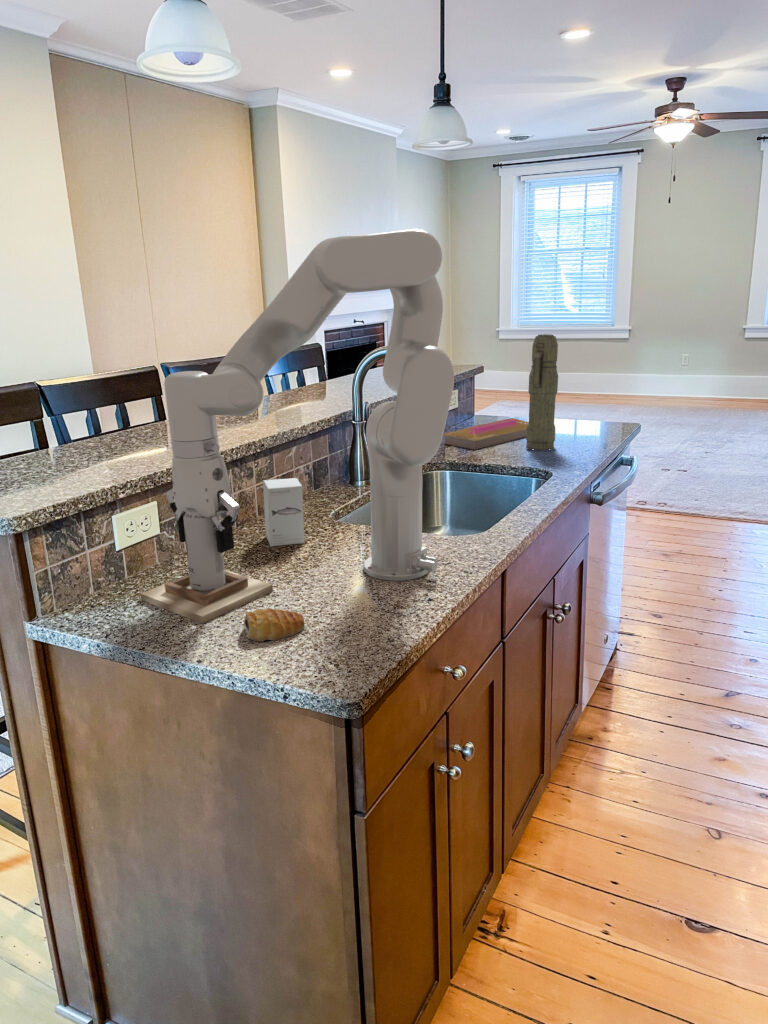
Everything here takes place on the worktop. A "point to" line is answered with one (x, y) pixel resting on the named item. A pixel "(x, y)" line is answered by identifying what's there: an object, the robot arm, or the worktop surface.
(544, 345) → the olive stone tall figure
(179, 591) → the board
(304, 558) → the worktop surface
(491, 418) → the worktop surface
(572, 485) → the worktop surface
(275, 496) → the supplement box
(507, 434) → the pink-striped tan slab
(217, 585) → the energy drink can
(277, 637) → the pastry
